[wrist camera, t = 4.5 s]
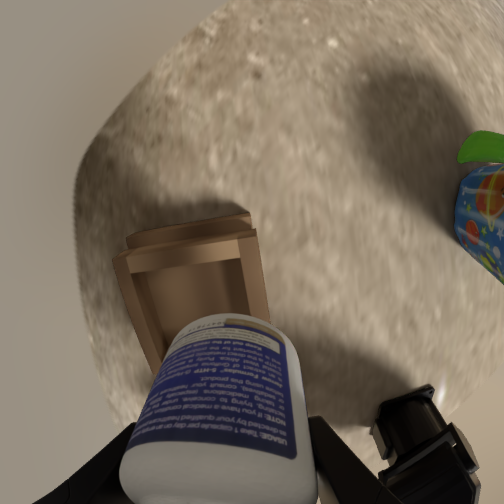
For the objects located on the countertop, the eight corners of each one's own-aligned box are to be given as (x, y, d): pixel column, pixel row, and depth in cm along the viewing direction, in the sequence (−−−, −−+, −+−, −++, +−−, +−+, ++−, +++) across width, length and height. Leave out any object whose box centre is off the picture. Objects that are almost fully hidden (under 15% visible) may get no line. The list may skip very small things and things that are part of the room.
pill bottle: (146, 345, 11) (49, 532, 2) (250, 283, 10) (223, 582, 1) (222, 419, 12) (199, 586, 3) (321, 377, 11) (361, 576, 2)
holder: (253, 211, 18) (253, 222, 15) (288, 444, 25) (291, 469, 21) (131, 233, 18) (108, 247, 15) (210, 449, 25) (206, 474, 22)
